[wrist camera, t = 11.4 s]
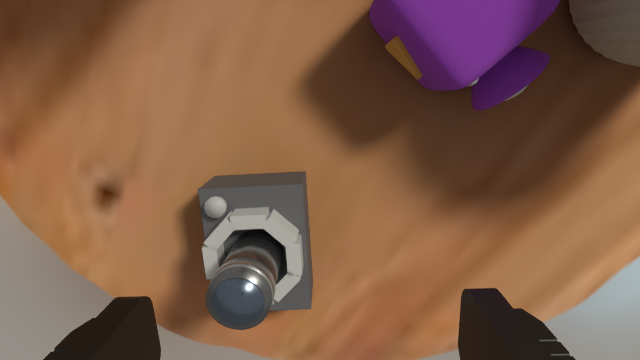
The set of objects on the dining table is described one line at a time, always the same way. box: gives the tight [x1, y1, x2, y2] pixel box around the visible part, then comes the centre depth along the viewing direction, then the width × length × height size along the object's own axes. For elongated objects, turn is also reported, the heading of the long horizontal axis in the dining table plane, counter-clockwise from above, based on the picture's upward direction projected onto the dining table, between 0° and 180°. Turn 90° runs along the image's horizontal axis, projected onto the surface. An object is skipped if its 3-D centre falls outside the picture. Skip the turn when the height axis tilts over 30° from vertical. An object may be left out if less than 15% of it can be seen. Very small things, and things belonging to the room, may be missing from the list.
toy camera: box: [369, 0, 560, 110], centre depth 28 cm, size 11×14×10 cm
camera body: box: [198, 171, 313, 311], centre depth 34 cm, size 12×9×7 cm
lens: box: [206, 229, 283, 330], centre depth 29 cm, size 5×5×8 cm
